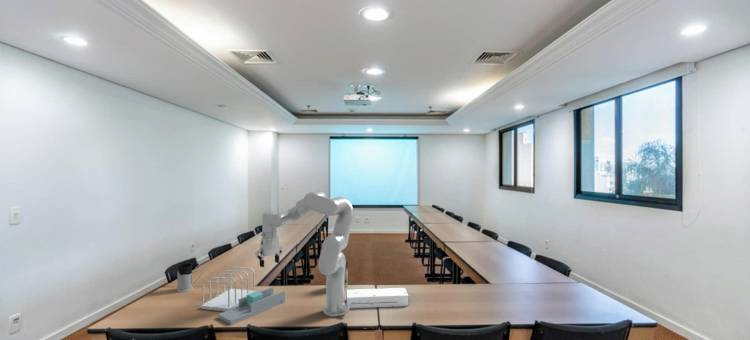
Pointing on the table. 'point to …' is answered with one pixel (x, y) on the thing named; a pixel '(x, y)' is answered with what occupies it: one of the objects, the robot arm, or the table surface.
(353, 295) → the laminator
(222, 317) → the sleeve
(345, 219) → the robot arm
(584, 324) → the table surface
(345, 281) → the coffee box
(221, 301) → the file sorter
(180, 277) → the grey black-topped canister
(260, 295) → the teal block
